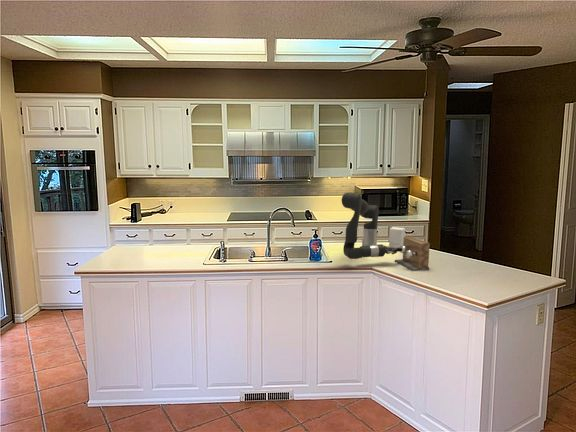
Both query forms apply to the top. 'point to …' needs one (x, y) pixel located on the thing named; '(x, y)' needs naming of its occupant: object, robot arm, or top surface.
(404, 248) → the knob
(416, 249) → the knob panel
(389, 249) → the robot arm
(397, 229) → the supplement box
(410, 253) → the knob
